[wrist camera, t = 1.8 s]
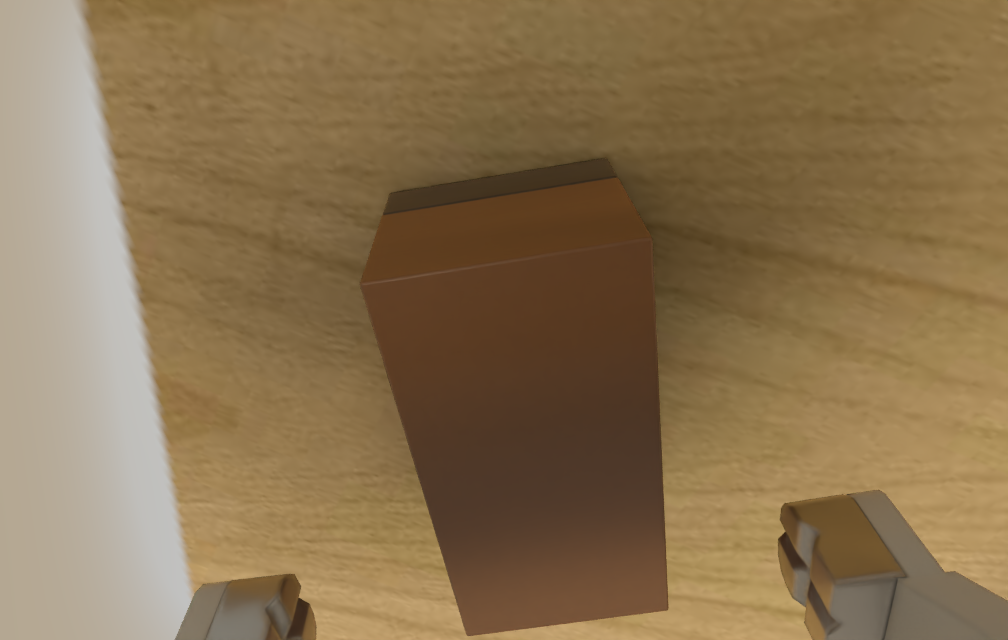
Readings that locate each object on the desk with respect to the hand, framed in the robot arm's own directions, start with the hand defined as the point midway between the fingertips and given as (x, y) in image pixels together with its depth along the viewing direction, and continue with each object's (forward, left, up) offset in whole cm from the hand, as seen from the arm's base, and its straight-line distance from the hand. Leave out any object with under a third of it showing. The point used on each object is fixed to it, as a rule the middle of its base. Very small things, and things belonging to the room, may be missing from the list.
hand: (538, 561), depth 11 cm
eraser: (0, 0, -6) cm, 6 cm away
